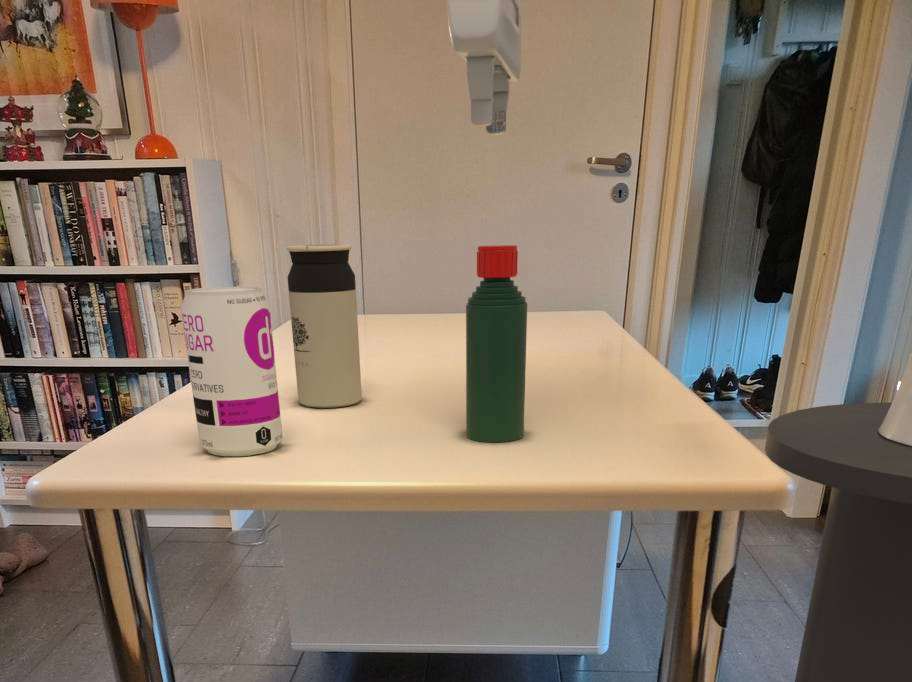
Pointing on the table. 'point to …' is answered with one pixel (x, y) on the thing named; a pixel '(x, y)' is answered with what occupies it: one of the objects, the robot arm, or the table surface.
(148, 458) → the table surface
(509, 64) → the robot arm
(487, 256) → the cap
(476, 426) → the bottle
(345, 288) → the travel mug
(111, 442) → the table surface
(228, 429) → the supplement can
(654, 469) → the table surface
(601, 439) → the table surface
